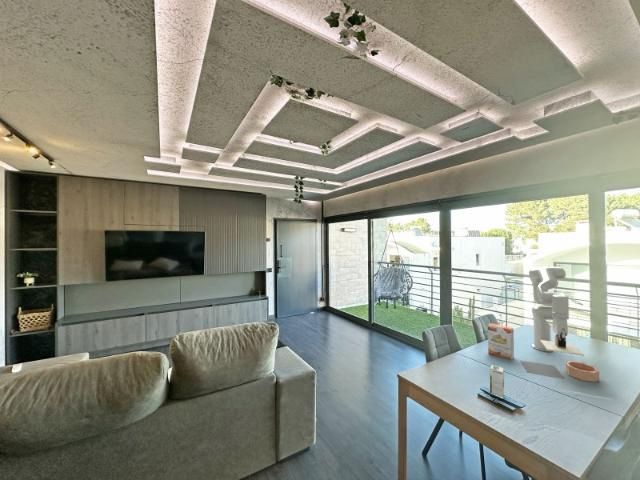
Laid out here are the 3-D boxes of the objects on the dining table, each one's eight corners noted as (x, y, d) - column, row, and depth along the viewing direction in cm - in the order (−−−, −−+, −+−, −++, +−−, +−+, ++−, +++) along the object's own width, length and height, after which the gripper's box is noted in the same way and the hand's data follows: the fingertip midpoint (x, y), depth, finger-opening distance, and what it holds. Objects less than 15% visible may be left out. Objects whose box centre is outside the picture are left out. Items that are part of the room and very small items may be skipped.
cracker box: (487, 353, 186) (487, 324, 186) (491, 351, 189) (490, 322, 189) (511, 360, 174) (510, 329, 175) (514, 358, 178) (513, 327, 178)
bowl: (563, 369, 162) (563, 359, 162) (591, 374, 156) (591, 364, 156) (572, 379, 150) (571, 369, 150) (602, 384, 144) (602, 374, 145)
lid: (540, 341, 168) (540, 330, 168) (573, 345, 161) (573, 334, 161) (547, 350, 154) (547, 339, 154) (584, 355, 147) (583, 343, 147)
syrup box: (491, 391, 140) (490, 364, 140) (504, 395, 136) (503, 367, 136) (489, 396, 135) (489, 368, 135) (503, 400, 131) (503, 371, 131)
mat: (519, 360, 174) (519, 360, 174) (554, 366, 166) (554, 365, 166) (526, 373, 158) (526, 372, 158) (565, 380, 150) (565, 379, 150)
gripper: (548, 311, 167) (548, 339, 167) (556, 318, 152) (557, 349, 152) (563, 312, 163) (564, 341, 163) (573, 319, 149) (574, 351, 148)
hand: (560, 345), depth 158 cm, fingers closed on lid, 4 cm apart
